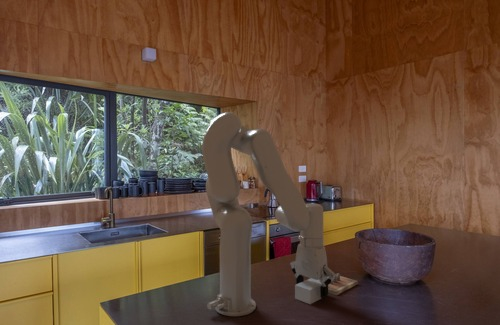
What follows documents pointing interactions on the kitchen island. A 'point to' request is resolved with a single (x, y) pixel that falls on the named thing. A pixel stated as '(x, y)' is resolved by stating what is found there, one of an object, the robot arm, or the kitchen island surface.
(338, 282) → the pin block
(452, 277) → the kitchen island surface
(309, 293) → the block
